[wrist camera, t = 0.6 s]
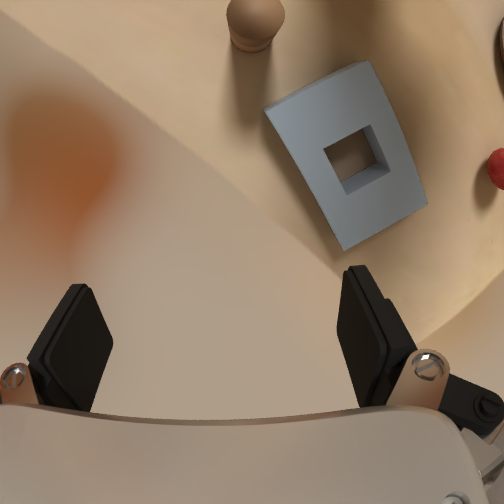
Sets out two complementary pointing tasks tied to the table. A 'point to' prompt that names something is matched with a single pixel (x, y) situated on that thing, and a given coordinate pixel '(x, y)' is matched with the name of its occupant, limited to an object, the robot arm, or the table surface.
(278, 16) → the walnut peg
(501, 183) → the onion
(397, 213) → the hole board
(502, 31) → the plant saucer
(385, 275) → the table surface
